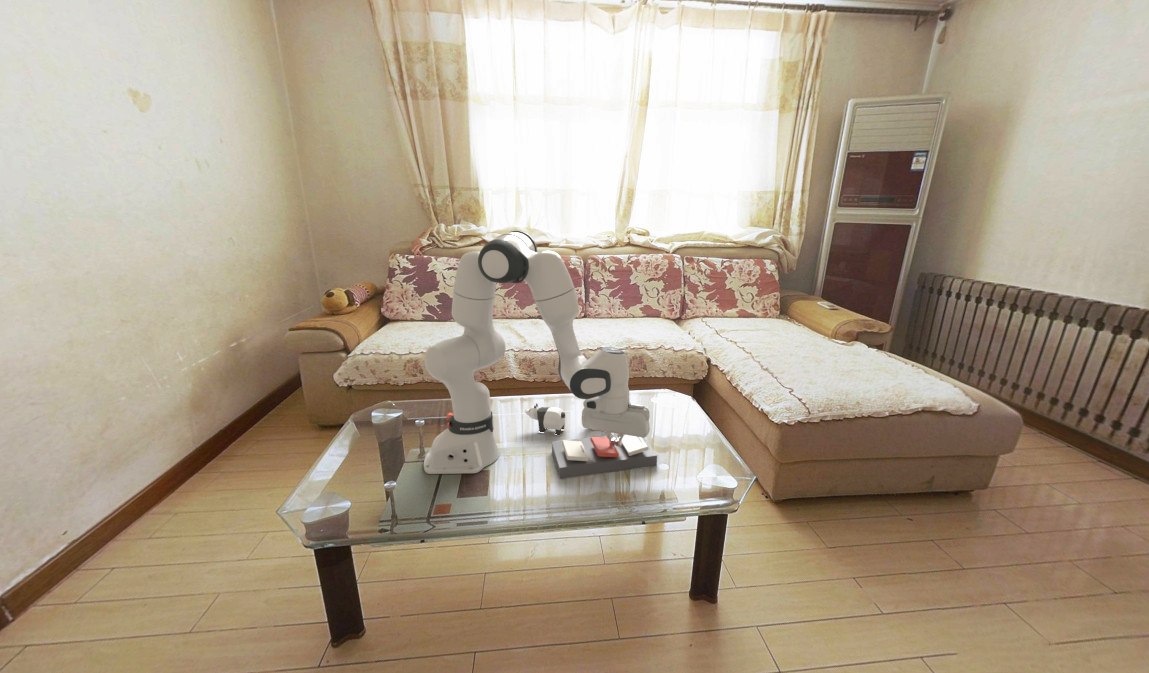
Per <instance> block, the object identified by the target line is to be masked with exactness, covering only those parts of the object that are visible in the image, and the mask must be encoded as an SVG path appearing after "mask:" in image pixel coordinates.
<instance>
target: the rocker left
mask: <svg viewBox="0 0 1149 673" xmlns="http://www.w3.org/2000/svg"><path fill="white" fill-rule="evenodd" d="M570 440H571V439H562V440H561V441H562V446H563V449H564V451H565V454H566V457H567V460H577V461H588V458H589V457H588V455H587V453H586V451H585V448H584V446H583V444H582V442H581V441H570Z"/></svg>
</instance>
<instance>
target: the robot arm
mask: <svg viewBox="0 0 1149 673" xmlns="http://www.w3.org/2000/svg"><path fill="white" fill-rule="evenodd" d="M523 282H525V283H526V284H527V285H528V287H529V289H530V292H531V295H532V298H533V300H534V303H535V307H536V308H537V310H538V312H539V314H540V316H541V318H542V320H543V321H544V323H545V325H546V326H547V327H548V329H549V330H550V332H551V335H552V338H553V341H554V344H555V348H556V350H557V354H558V367H557V369H558V376H559V379H560V380H561V381H562V382H563V383H564V384H565V385H566V387H567V388H568V389H569V391H570V392H571V393H572V395H573V396H575V397H576V398H578V399H579V400H580V399H581V400H584V401H583V407H584V408H583V409H582V411H581V425H582V427H583V428H585V429H588V430H593V431H594V430H596V431H601V432H604V433H605V436H607V438H608V439H609V444H610V445H615V446H621V445H622V439H623V437H624V435H630V436H636V437H642V438H644V439H645V438H646V437H647V436H648V435H649V433H650V431H651V429H650V410H649V409H648V408H647V407H646V406H645V405H643V404H635V403H634V404H633V403H631V402H630V389H629V380H630V372H629V362H628V356H627V354H626V353H625V352H624V351H623V350H621V349H619V348H617V347H610V346H605V347H601V348H599V349H598V351H596V353H595V354H593V355H592V356H591V357H589V358H587V357H586V356H585V355H584V354H583V353H582V351H581V350H580V347H579V343H578V340H577V337H576V333H575V331H574V327H573V326H574V325H573V324H574V320H575V319H576V318H577V317H578V315H579V310H580V306H579V300H578V295H577V292H576V291H577V290H576V288H575V286H574V282H573V280H572V277H571V274H570V272H569V269H568V268H567V267H566V264H565V262H564V260H563V259H562V257H561V255H560V254H559V253H557V252H556V251H553V250H542V251H538V246H537V243H536V241H535V239H534V238H533V237H532V236H531V235H530V234H529V233H527V232H525V231H521V230H512V231H509V232H506V233H503V234H500V235H498V236H497V237H495V238H494V239H493V240H489V241H487V243H486V244H484V246H483V247H482V248H481V250H480V251H479V250H478V251H477V250H473V251H469V252H466V253H464V254H463V255H462V256H461V257H460V260H459V262H458V265H457V269H456V272H455V277H454V284H453V290H452V293H453V294H452V303H451V316H452V318H453V320H454V322H455V323H456V324H458V325H459V326H461V327H463V329H464V331H463V334H462V335H459V336H456V337H452V338H449V339H444V340H441V341H440V342H438V343H435V344H434V345H432V346H430V347H428V348H427V350H426V352H425V354H424V360H423V361H424V366H425V369H426V371H427V372H428V374H429V376H431V377H432V378H434V379H435V380H437V381H440V382H441V383H442V384H443V385H444V386H445V388H446V389H447V390H448V392H449V393H448V394H449V395H450V401H451V406H452V412H448V413H447V415H446V426H447V428H446V429H444V430H443V431H442V432H441V433H439V434H438V435H437V436H436V437H435V438H434V440H433V442H432V443H431V447H430V450H429V451H428V452H427V453H426V454H425V457H424V461H423V471H424V472H425V473H426V474H428V475H441V474H442V475H446V474H447V475H449V474H456V475H457V474H477V473H479V472H480V471H482V470H483V469H485V467H487V466H489V465H491V464H493V463H495V461H497V460H498V459H499V457H500V451H499V448H498V445H497V443H496V442H497V441H496V438H495V434H494V428H495V425H494V415H493V411H492V409H491V408H492V407H491V396H490V390H489V389H488V386H486V385H485V384H484V383H482V382H480V381H476V378H475V376H474V375H475V374H474V373H475V372H476V371H478V370H481V369H484V368H488V367H491V366H492V365H493V364H495V363H497V362H498V361H500V360H502V358H504V356H505V354H506V342H505V339H504V338H503V337H502V335H501V333H499V332H498V331H497V330H496V329H495V327H494V323H493V314H494V305H495V298H496V297H495V296H496V289H497V283H498V284H521V283H523ZM613 434H619V437H620V436H621V437H620V439H619V438H617V439H616V438H613V436H612V435H613ZM615 440H616V441H615Z"/></svg>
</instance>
